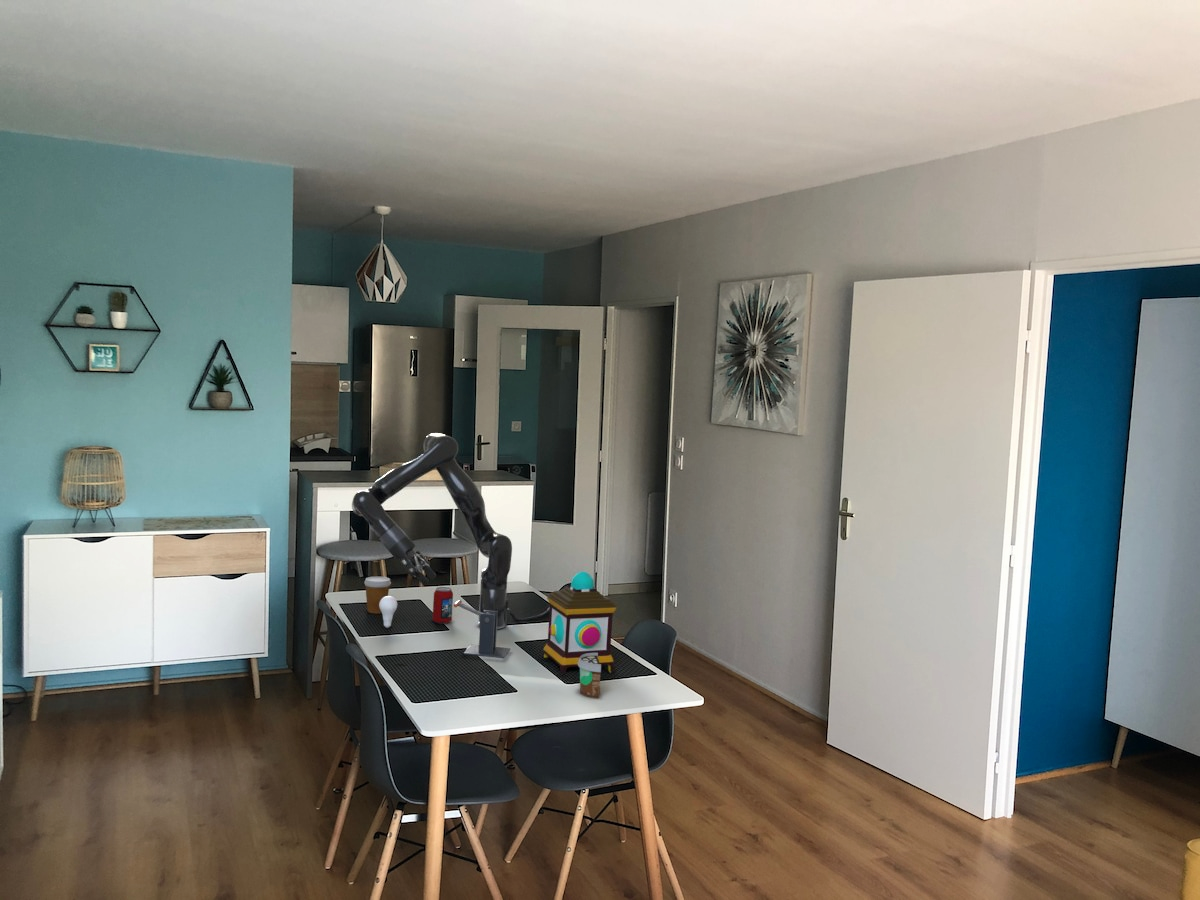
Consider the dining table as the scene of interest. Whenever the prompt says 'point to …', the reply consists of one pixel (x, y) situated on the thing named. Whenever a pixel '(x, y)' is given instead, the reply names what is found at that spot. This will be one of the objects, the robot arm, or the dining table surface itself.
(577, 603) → the decorative lantern
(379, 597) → the disposable coffee cup
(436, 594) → the beverage can
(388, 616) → the lightbulb
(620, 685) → the dining table surface
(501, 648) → the bracket
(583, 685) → the food container
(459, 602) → the lever
